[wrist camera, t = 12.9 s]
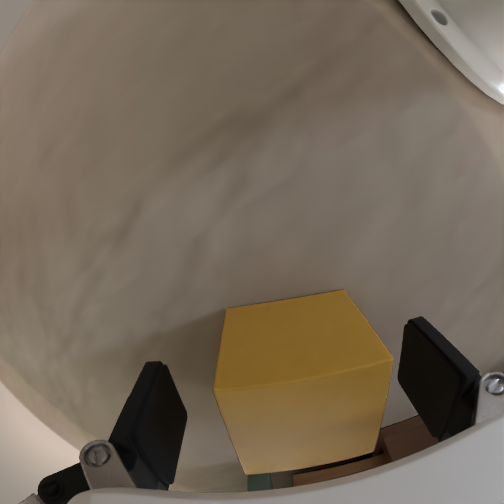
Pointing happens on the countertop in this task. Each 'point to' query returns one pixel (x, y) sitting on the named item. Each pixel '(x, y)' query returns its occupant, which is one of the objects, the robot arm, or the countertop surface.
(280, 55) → the countertop surface
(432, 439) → the cabinet
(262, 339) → the block
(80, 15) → the countertop surface
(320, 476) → the drawer
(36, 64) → the countertop surface
